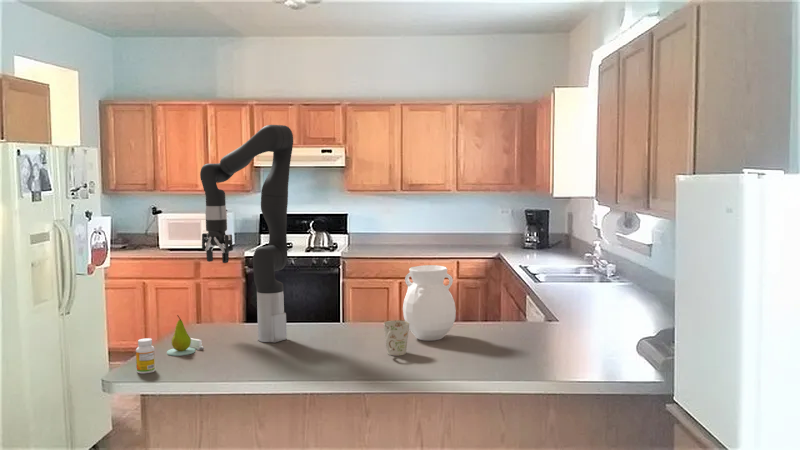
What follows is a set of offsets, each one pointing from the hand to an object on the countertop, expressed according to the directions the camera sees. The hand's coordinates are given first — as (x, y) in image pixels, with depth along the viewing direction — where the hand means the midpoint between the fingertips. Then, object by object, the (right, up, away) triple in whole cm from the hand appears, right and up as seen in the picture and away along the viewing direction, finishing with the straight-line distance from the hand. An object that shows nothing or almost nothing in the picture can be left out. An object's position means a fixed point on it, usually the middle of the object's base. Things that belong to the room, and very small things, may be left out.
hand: (217, 262), depth 278 cm
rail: (-4, -28, -21) cm, 35 cm away
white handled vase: (+77, -26, -11) cm, 83 cm away
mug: (+65, -29, -34) cm, 79 cm away
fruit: (-5, -28, -28) cm, 40 cm away
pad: (-5, -29, -28) cm, 40 cm away
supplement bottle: (-10, -31, -50) cm, 59 cm away
